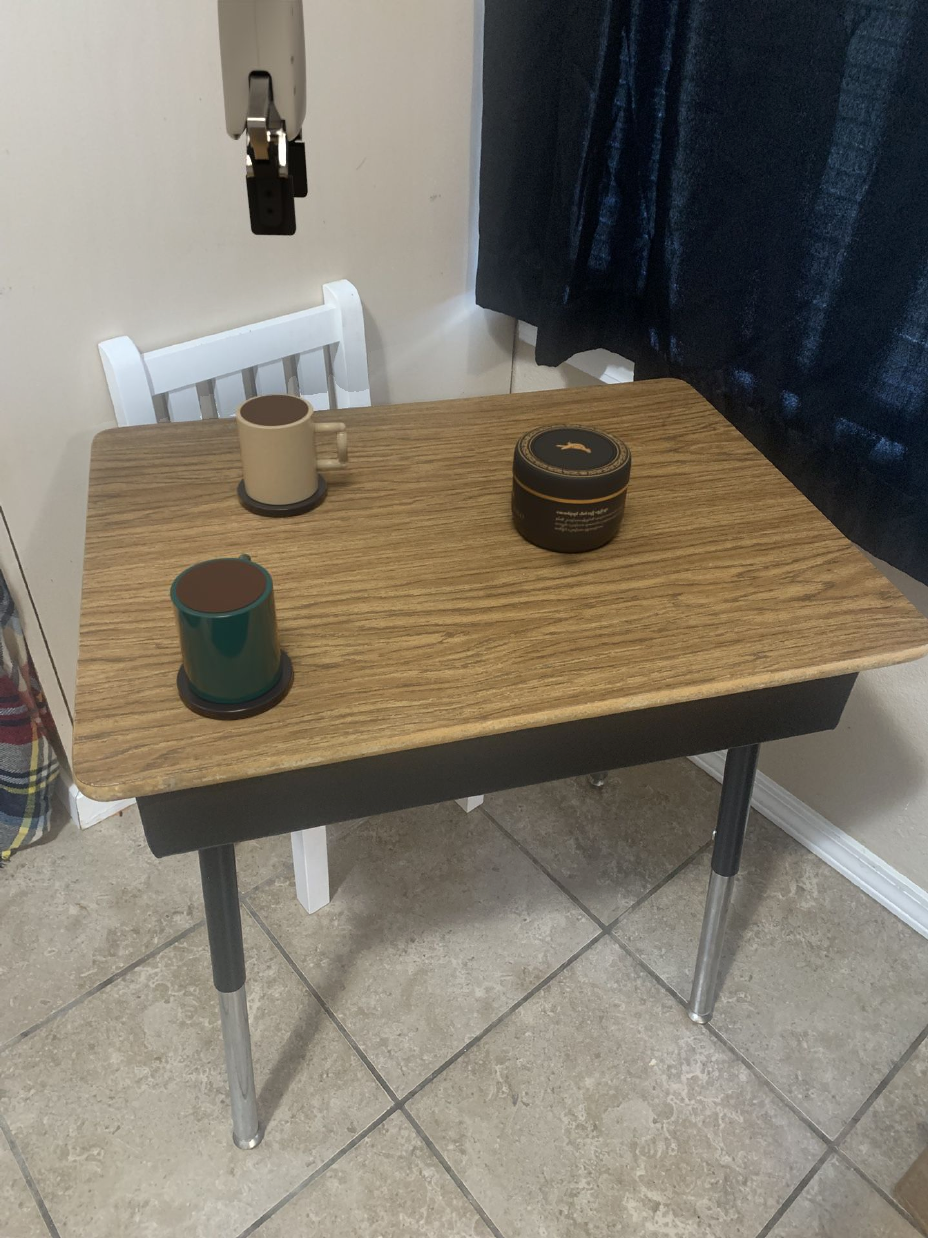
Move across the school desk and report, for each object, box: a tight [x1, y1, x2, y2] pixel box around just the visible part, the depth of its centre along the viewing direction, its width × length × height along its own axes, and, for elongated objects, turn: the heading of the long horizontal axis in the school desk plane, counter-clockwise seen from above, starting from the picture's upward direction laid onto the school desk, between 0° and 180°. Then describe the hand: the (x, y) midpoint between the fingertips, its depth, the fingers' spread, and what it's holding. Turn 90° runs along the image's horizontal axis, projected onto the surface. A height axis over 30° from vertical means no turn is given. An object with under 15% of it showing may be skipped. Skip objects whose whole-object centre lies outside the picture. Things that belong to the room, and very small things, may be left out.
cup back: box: [235, 393, 349, 505], centre depth 86 cm, size 9×7×8 cm
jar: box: [510, 423, 632, 553], centre depth 84 cm, size 10×10×8 cm
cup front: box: [169, 553, 282, 704], centre depth 67 cm, size 9×7×8 cm
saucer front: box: [175, 647, 294, 721], centre depth 69 cm, size 8×8×1 cm
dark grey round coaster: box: [236, 472, 328, 518], centre depth 89 cm, size 8×8×1 cm
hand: (281, 214), depth 75 cm, fingers open, 9 cm apart
